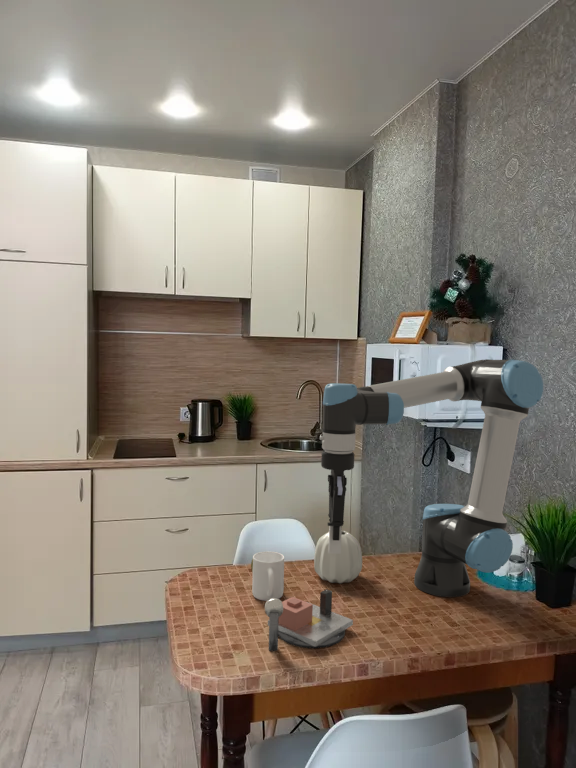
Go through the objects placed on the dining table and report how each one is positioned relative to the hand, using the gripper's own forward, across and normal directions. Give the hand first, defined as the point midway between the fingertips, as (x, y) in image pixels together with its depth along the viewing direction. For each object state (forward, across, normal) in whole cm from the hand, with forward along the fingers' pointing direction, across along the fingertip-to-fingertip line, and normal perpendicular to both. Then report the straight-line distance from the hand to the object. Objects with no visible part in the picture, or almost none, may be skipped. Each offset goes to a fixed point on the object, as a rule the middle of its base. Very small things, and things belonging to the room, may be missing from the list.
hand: (334, 552), depth 131 cm
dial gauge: (+19, +9, -14) cm, 25 cm away
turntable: (+17, 0, -5) cm, 18 cm away
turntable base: (+19, 0, -5) cm, 19 cm away
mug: (+19, -17, -15) cm, 30 cm away
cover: (+16, +1, -9) cm, 18 cm away
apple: (+19, -29, -16) cm, 38 cm away
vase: (+19, -31, +5) cm, 37 cm away
